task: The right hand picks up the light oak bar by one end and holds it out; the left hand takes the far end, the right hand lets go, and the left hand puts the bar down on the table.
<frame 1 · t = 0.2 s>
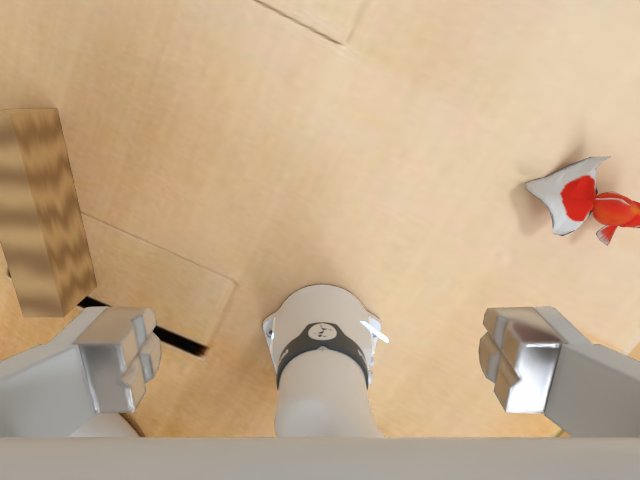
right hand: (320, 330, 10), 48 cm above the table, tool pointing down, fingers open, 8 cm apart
grey rounded piece: (104, 432, 74), on the table
fish: (569, 195, 58), on the table
bar: (60, 204, 58), on the table
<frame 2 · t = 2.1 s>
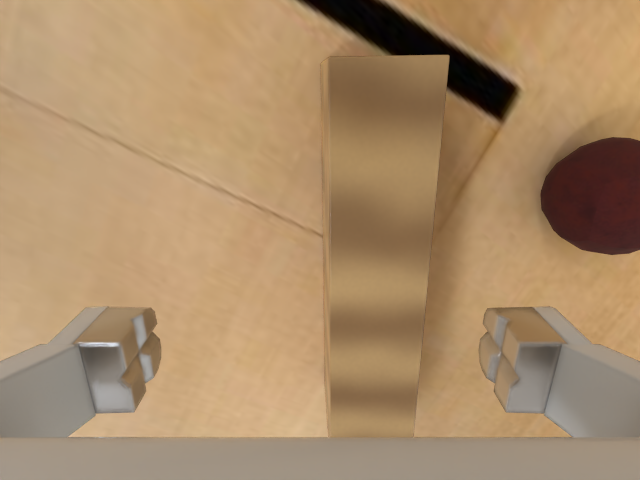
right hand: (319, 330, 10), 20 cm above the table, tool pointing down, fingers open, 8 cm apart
potato: (573, 182, 30), on the table
bar: (358, 249, 31), on the table
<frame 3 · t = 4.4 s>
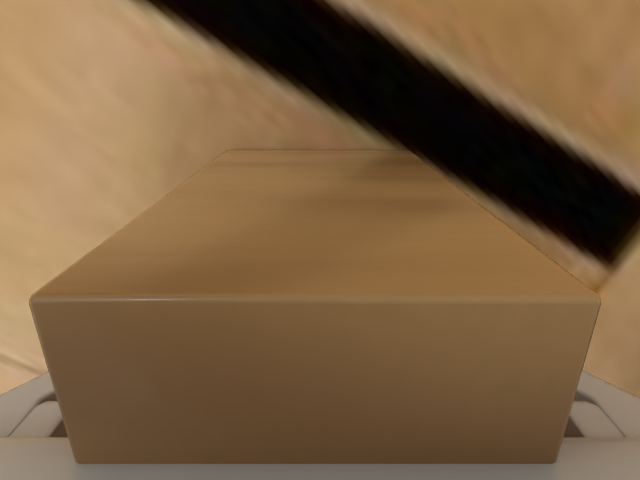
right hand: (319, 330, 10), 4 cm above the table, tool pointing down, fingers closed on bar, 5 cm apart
bar: (318, 472, 17), on the table, touching right hand
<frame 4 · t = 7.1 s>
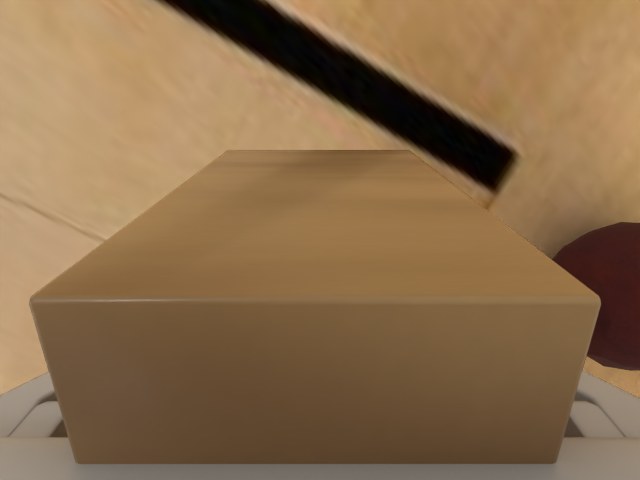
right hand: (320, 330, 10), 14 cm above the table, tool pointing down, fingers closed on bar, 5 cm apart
potato: (583, 265, 24), on the table
bar: (318, 472, 17), point 10 cm above the table, touching right hand
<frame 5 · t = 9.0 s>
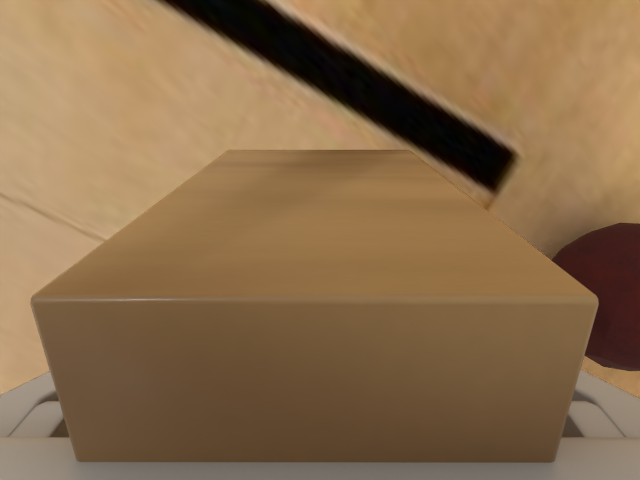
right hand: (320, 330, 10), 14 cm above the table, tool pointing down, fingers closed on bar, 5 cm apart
potato: (583, 265, 24), on the table
bar: (319, 471, 17), point 10 cm above the table, touching right hand, left hand
when the right hand's fingers open (14 cm above the table, at t = 10.1 s): bar stays where it is, held by the left hand.
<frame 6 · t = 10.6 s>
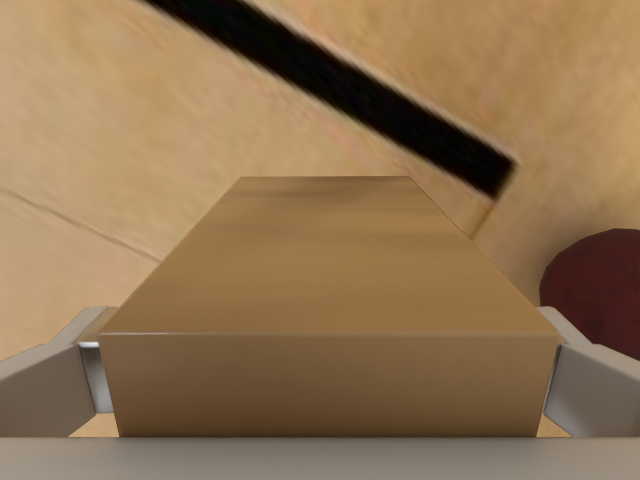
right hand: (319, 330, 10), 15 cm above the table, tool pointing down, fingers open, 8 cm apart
potato: (580, 269, 25), on the table
bar: (324, 478, 18), point 10 cm above the table, touching left hand
when the left hand's fingers open (5 cm above the table, at t = 14.1 s): bar moves 1 cm, on the table.
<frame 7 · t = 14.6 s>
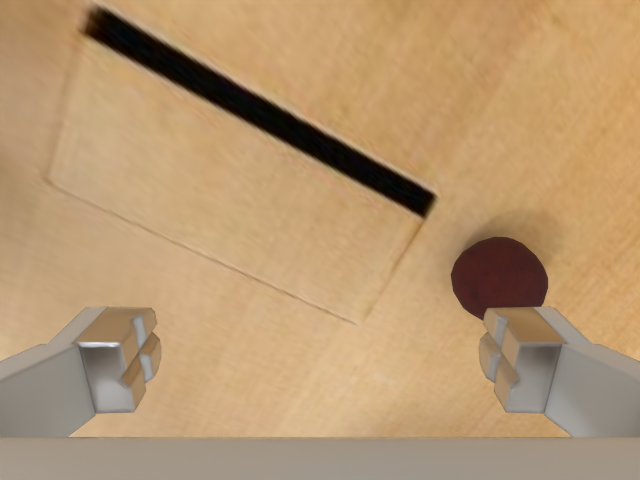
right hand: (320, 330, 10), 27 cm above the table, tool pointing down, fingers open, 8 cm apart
potato: (481, 262, 39), on the table
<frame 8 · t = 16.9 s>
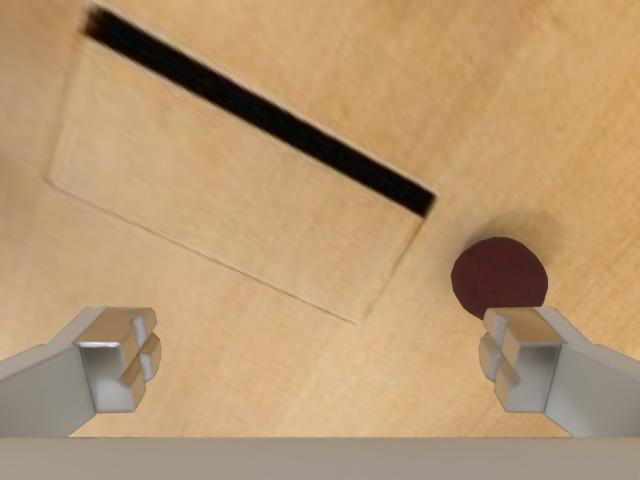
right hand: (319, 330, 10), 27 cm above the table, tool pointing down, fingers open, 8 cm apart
potato: (481, 262, 39), on the table
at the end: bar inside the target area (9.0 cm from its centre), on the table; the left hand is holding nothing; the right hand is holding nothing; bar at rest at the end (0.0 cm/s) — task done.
